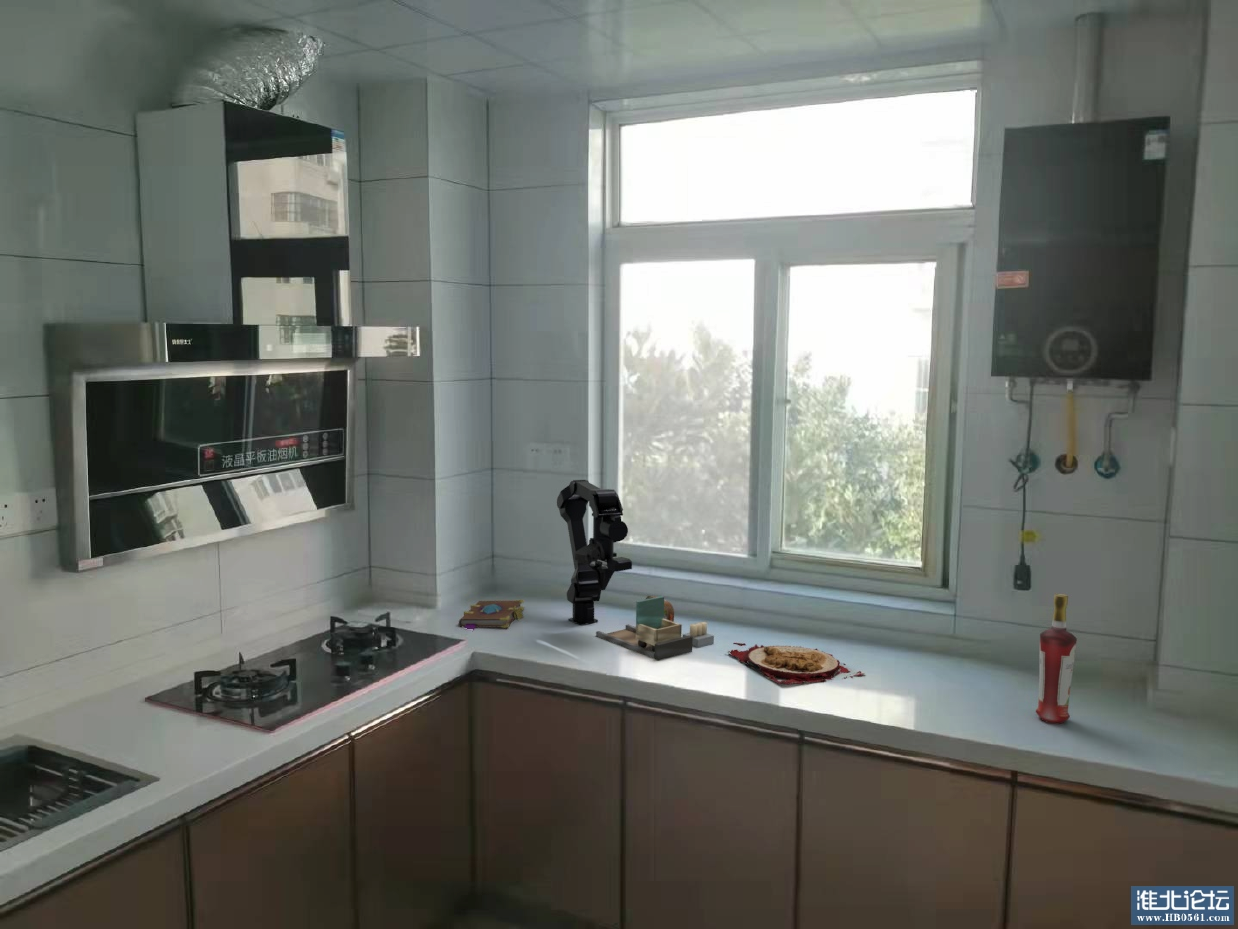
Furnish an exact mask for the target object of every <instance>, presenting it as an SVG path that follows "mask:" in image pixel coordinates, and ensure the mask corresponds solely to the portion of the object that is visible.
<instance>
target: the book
mask: <svg viewBox="0 0 1238 929" xmlns="http://www.w3.org/2000/svg"><path fill="white" fill-rule="evenodd" d="M524 602H525V600H524V599H515V600H479V601H478V602H476V603H475V604H470V609H469V610H468V611H466V610H465V611H463V616H461V618H460V619H459V621H458V625H459V627H461V626H465V627H464V628H467V629H473V631H474V630H475V629H476V628H502V629H506V628H509V627H510V624H511V623H512V622H513V621H514V620H515V619H516V620H518V619H519V620H521V619H522V618H523V617H524V614H523V612H522V611H523V610H525V607H524V606H521V604H523V603H524ZM467 629H466V630H467Z"/></svg>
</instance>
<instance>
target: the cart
mask: <svg viewBox="0 0 1238 929" xmlns="http://www.w3.org/2000/svg"><path fill="white" fill-rule="evenodd" d="M664 600H665V596H662V595H661V596H658V597H655V598H650V599H646V598H645V599H641V600H638V601H637V600H636V606H635V608H636V609H635V611H636V612H635V615H636V616H635V627H636V639H637V640H639V641H638V646H640V647H642V648H645V647H646V646H647V643H648V644H651V645H653V646H652V651H653V652H655V644H656V643H660V642H664V641H668V640H672V639H676V638H680V637H682V630H683V628H682V626H683V625H682V624H681V623H677V622H675V621H674V622H672V621H669V620H666V619H664Z"/></svg>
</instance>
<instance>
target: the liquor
mask: <svg viewBox="0 0 1238 929" xmlns="http://www.w3.org/2000/svg"><path fill="white" fill-rule="evenodd" d="M1053 599H1054V600H1053V606H1054V610H1053V611H1054V612H1053V616H1052V623H1051V628H1049V629H1044V630H1043V631H1042V632H1040V634H1039V656H1038V657H1039V664H1038V665H1039V677H1038V678H1039V680H1038V702H1037V703H1038V704H1037V705H1038V706H1037V708H1036V710H1035V713H1036V715H1038V716H1039V718H1040V720H1042V721H1043V722H1046V721H1047V723H1050V724H1055V723H1059V724H1062V723H1065V721H1067V720H1068V719H1071V717H1070V716H1071V715H1070V714H1069V704H1070V697H1071V696H1070V695H1071V687H1072V686H1071V685H1072V677H1073V673H1074V672H1073V671H1074V664H1075V659H1076V658H1075V657H1076V649H1077V648H1076V647H1077V641H1078V638H1077V637H1076V636H1075V635H1074V634H1073V633H1071V632H1070V631H1068V630H1067V611H1066V610H1067V606H1068V602H1069V596H1068V595H1066V594H1064V593H1063V594H1062V593H1061V594H1060V593H1055V594H1054V598H1053Z"/></svg>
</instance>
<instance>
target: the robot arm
mask: <svg viewBox="0 0 1238 929" xmlns="http://www.w3.org/2000/svg"><path fill="white" fill-rule="evenodd" d="M556 506H557V508H558V510H559V514H560V517H561V518H562V519H563V520H564V521H565V522H566V525H567V531H568V537H569V543H570V549H571V555H572V556H571V557H572V561H573V566H574V567H573V568H574V571H573V573H572V576H571V579H570V583H571V584H570V585H569V587H568V590H567V591H566V599H567V601H568V602H569V603H571V604H572V617H569V618H568V621H569V622H572V623H575V624H577V625H580V626H583V625H587V624H592V623H597V622H599V619H597V618H595V604H594V603H595V602H600V599H601V594H602V591H605V590H606V589H607V587H608V585H609V583H610V581H611V579H612V577H613V575H614V574H615V572H618V573H619V572H623V571H629V570H632V569H633V561H632V560H631V559H630V558H628V557H623V556H618V557H617V555H618V554H617V552H614V545H615V543H618V542H621V541H623V540H625V539H626V538H627V536H628V534H629V528H628V525H627V524H626V522H624V521H623V520H622V516H624V513H623V511H624V507H623V505H622V503H621V499H620V497H619V494H618V493H617V491H616V490H615V489H611V488H601V487H598V486H596V485H595V484H593V483H591V482H590V481H589V480H586V479H573V480H571V481H570V483H569V484H568V485H567V486H566V487H564V488H563V489H561V490H560V492H559V494H558V496H557V498H556ZM587 506H589V507H590V509H591V511H592V513H591V516H592V517H593V521H592V522H593V524H592V530H593V531H592V533H593V534H592V537H590V538H589V539H588V542H587V538H586V531H585V525H584V517H585V514H586V511H587Z"/></svg>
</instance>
